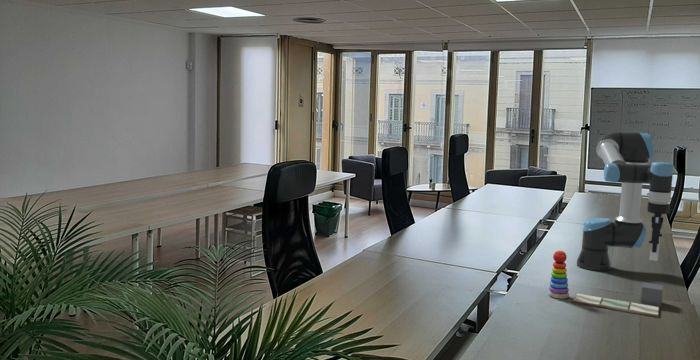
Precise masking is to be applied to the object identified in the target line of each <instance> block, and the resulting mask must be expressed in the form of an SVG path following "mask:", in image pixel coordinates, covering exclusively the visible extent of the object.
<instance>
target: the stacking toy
mask: <svg viewBox="0 0 700 360" xmlns="http://www.w3.org/2000/svg"><path fill="white" fill-rule="evenodd" d="M552 255H553V257H552V258H553V260H554V262H553V263H552V272H551V274H550V275H551V277H550V282H549V287H548V293H547V294H548V296H550V297H551V298H554V299H559V300H560V299H561V300H563V299H565V300H566V299H567V298H569V297H570V293H569V291H570V290H569V283H568V281H569V280H568V274H567V272H568V270H567V268H566V267H567V263H566V261H567V257H568V256H567V253H566V252H565V251H563V250H556V251H555V252H554V253H553V254H552Z"/></svg>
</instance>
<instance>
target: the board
mask: <svg viewBox="0 0 700 360" xmlns="http://www.w3.org/2000/svg"><path fill="white" fill-rule="evenodd" d="M571 301H572V302H571V303H572V304H578V305H584V306H589V307H593V308H600V309H607V310H612V311H618V312H623V313H629V314H634V313H635V315H640V314H641V316H646V315H647V316H648V317H653V318H657V319H659V318H660V307H656V306H650V305H644V304H641V303H636V302H632V301H631V302H630V301H624V300H618V299H614V298H607V297H600V296H594V295H588V294H582V293H575V295H574V297H573V299H572V300H571Z"/></svg>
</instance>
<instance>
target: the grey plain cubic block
mask: <svg viewBox="0 0 700 360" xmlns="http://www.w3.org/2000/svg"><path fill="white" fill-rule="evenodd" d="M663 288H664V286H663V285H662V284H656V283H649V282H642V286H641V297H640V304H646V305H652V306H658V307H659V308H662V299H663Z"/></svg>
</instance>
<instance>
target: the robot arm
mask: <svg viewBox="0 0 700 360" xmlns="http://www.w3.org/2000/svg"><path fill="white" fill-rule="evenodd" d="M654 148H655V147H654V141H653V138H652V136H651V135H650V133H644V132H624V131H623V132H622V131H621V132H619V131H617V132H616V131H615V132H613V131H612V132H608V133H606V134H604V135H602V136H601V137H599V139H598V140H597V142H596V143H595V153H596V155H597V156H598V157H599V158H600V159H602V161H603V164H604V168H603V179H604V181H605V182H607V183H608V182H610V183H621V191H620V192H621V193H620V202H619V212H618V216H616V217H615V220H614V221H613V222H612V221H611V219H610V218H606V217H593V218H592V217H591V218H588V219H586V220H585V221H584V222H583V227H582V239H581V240H582V243H581V249H580V250H581V251H580V252H579V254H578V257H577V260H576V266H577V267H578V268H581V269H583V270H588V271H596V272H602V271H603V272H605V271H609V270H611V269H612V262H611V259H610V256H609V255H610V254H609V247H612V248H624V249H639V248H641V247H642V246H643V244H644V242H645V239H646V236H647V235H646V234H647V226H646V224H645V223H643V222H644V221H643V219H642V218H640V212H641V203H642V202H641V201H642V191H643V184H647V185H648V184H649V189H648V192H647V193H646V195H647V196H648V198H647V199H648V202H647V213H650V214H654V215H652V216H651V229H652V232H651V240H648V244H650V248H649V249H650V250H649V261H655V262H658V257H659V253H660V243H661V242H660V239H661V237H663V233H661V230H662V227H663V223H664V217H663V216H662V215H668V214H670V209H671V208H670V207H671V205H670V203H671V199H672V198H671V197H672V185H673V177H674V176H673V175H674V165H673V163H671V162H663V161H654V162H652V163H651V164H649V160H651V159H653V158H654V153H655V149H654Z"/></svg>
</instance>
